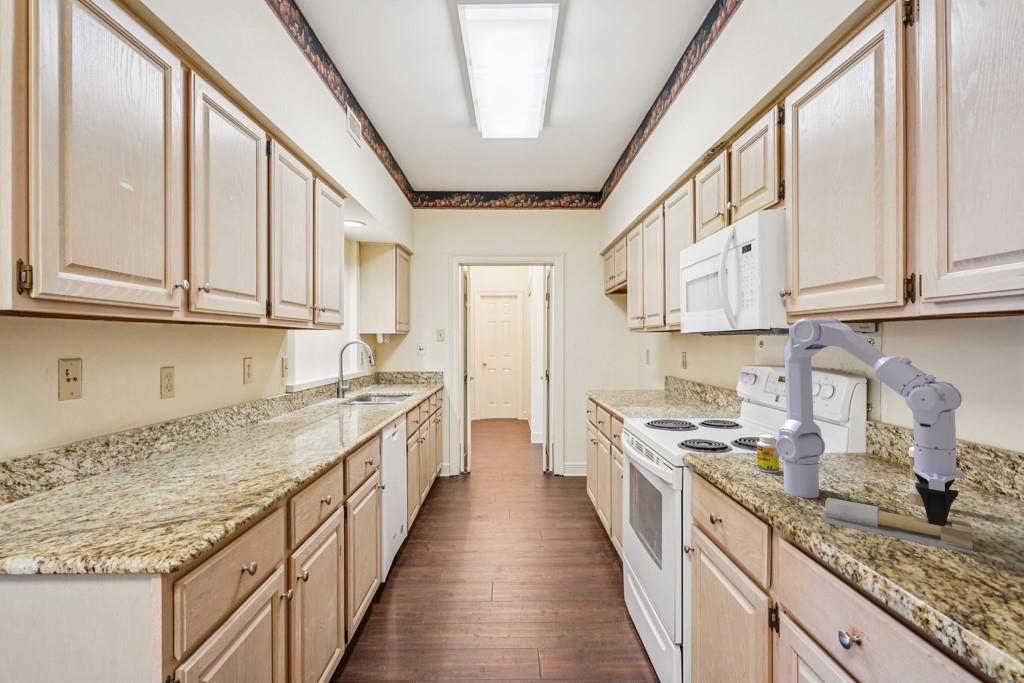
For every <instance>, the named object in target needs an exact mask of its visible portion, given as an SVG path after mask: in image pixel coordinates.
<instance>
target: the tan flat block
mask: <svg viewBox="0 0 1024 683" xmlns="http://www.w3.org/2000/svg"><path fill="white" fill-rule="evenodd" d="M877 514H878V524H882V525H887V526H892V527H897V528H902V529H906V530H911V531H916V532H921V533H926V534H931V535H936V536H941V526H938V525H933V524H929V522H928V519H927V518H926V519H925V518H924V519H923V518H919V517H914V516H907V515H903V514H898V513H891V512H888V511H881V510H878V512H877ZM946 526H951V527H952V525H951V524H946Z"/></svg>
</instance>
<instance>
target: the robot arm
mask: <svg viewBox="0 0 1024 683" xmlns="http://www.w3.org/2000/svg"><path fill="white" fill-rule="evenodd" d="M788 335H789V336H788V337H789V338H788V339H787V342H786V344H785V347H784V371H785V372H784V374H785V375H784V378H785V379H784V380H785V381H784V382H785V400H786V401H785V403H786V404H785V405H786V408H785V409H786V420H785V422H784V423H783V424H782V425H781V426H780V427H779V428H778V436H777V439H775V442H776V449H777V452H778V453H779V457H780V458H781V460H782V461H783V464H782V466H783V491H784V493H786V494H789V495H791V496H794V497H798V498H804V499H805V498H807V499H815V498H818V497H819V496H820V476H819V475H820V473H819V471H820V469H819V461H820V456H822V455H823V454H824V453H825V451H826V443H825V440H824V439H823V437H822V432H821V430H822V429H821V427H820V426H819V425H818V424H816V422H814V403H813V402H814V400H813V374H812V373H813V372H812V368H813V367H812V357H813V356H815V355H816V354H817V353H818V352H820V351H821V350H822V349H825V348H827V347H838V348H841V349H842V350H844V351H845V352H847V353H849V354H850V355H852V356H853V357H854V358H856V359H857V360H859V361H861V362H863V363H864V364H866V365H868V366H870V367H871V368H872V369H873V374H874V377H875V378H876V379H877V380H879V381H880V382H882V383H883V384H885V385H886V386H887V387H889V388H890V389H891V390H893V391H894V392H896V393H897V394H898V395H900V396H901V397H903V398H904V400H905V404H906V406H907V407H908V408H909V409H910V410H911V412H912V419H913V420H912V421H913V447H914V466H913V471H914V472H915V476H916V477H917V479H918V481H919V483H915V487H916V489H917V491H918V493H919V494H920V496H921V498H922V500H923V503H924V506H925V507H924V510H925V514H926V520H927V519H928V522H929V524H933V525H938V526H943V527H945V525H946V522H947V519H948V518H949V513H950V510H951V506H952V505H953V502H954V501H956V499H957V497H958V496H959V494H960V493H959V491H958V490H955V489H954V490H953V489H950V488H951V487H952V485H953V483H954V482H955V480H956V479H957V478H958V479H959V478H960V479H966V476H967V474H966V473H965V472H964V471H957V441H956V440H957V436H956V426H957V425H956V411H955V410H957V409H958V408H959V407H960V406H961V405H962V402H963V396H962V394H961V392H960V390H959V389H958V388H957V387H955V386H954V384H952V383H951V382H948V381H942V380H941V381H940V380H939V381H937V380H936V376H934V375H933V374H927V373H925V372H924V371H923V370H920V369H919V368H917V367H916V366H914V365H913V364H912V362H913V361H912V360H911V359H909V358H908V357H901V356H898V355H893V356H888V355H886V354H885V353H884V352H882V351H881V350H879V349H878V347H877V348H876V346H874V345H873V344H871V342H869V341H868V340H866V339H864V338H863V337H862V336H860V335H859V334H858V333H857V332H855V331H854V330H853V329H851V327H850V325H848V324H846V323H843V322H841V321H840V319H838V318H835V317H827V318H825V317H824V318H810V317H804V318H800V319H798V320H796V321H795V322H794V323H793V324H792V325H791V326H789V328H788Z"/></svg>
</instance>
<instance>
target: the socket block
mask: <svg viewBox="0 0 1024 683" xmlns="http://www.w3.org/2000/svg"><path fill="white" fill-rule="evenodd" d="M946 524H951V525H952V527H951V526H946V525H945V527H943V526H941V536H940V538H941V543H945V544H950V545H955V546H960V547H964V548H969V549H974V548H973V547H974V546H973V545H974V544H973V527H972V524H971V521H970V519H966V518H959V517H955V516H950V517H949V519H947V522H946Z"/></svg>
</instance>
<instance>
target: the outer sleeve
mask: <svg viewBox="0 0 1024 683" xmlns="http://www.w3.org/2000/svg"><path fill="white" fill-rule="evenodd" d="M825 499H826V500H825V503H824V504H825V506H824V507H825V509H824V511H825V510H826V517H829V518H834V519H839V520H844V521H848V522H853V523H858V524H863V525H868V526H872V527H877V528H878V514H877V512H878V511H879V506H876V505H869V504H866V503H865V504H864V503H859V502H853V501H850V500H849V501H848V500H843V499H838V498H832V497H826V498H825Z"/></svg>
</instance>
